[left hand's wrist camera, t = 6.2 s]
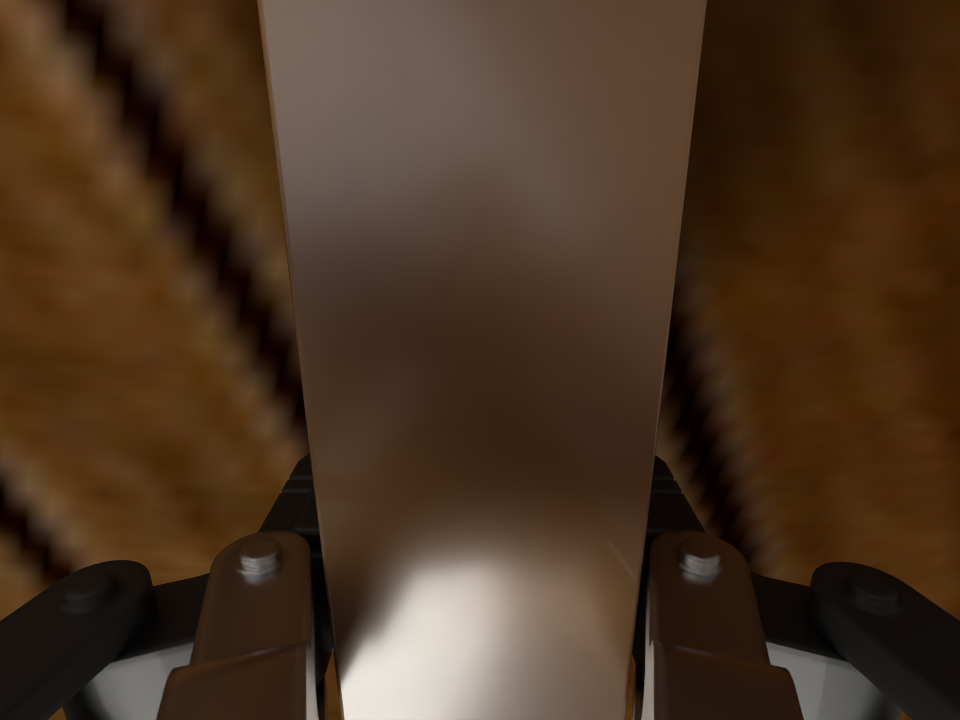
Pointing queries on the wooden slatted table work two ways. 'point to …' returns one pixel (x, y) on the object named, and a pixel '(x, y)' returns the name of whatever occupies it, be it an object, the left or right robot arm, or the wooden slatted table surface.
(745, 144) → the wooden slatted table surface
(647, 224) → the bar
